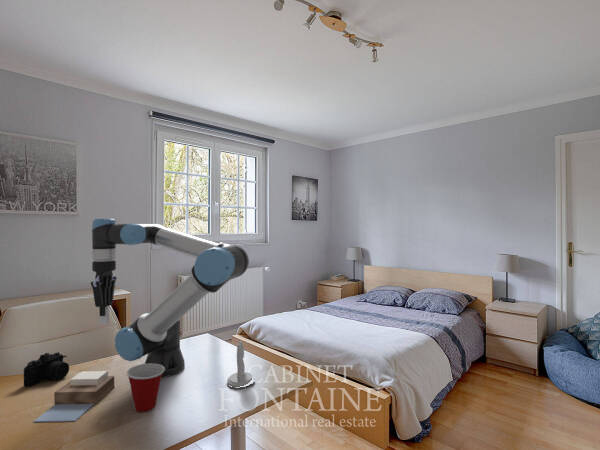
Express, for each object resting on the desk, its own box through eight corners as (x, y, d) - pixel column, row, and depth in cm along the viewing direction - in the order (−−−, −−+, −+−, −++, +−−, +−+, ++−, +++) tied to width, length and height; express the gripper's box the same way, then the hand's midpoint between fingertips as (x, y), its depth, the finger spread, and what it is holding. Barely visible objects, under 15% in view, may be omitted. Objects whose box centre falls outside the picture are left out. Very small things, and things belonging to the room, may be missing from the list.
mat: (93, 404, 106) (93, 403, 106) (75, 421, 97) (75, 420, 97) (55, 405, 105) (55, 404, 105) (33, 422, 96) (33, 421, 96)
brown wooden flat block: (114, 387, 117) (114, 376, 117) (96, 404, 106) (95, 391, 106) (76, 388, 117) (76, 376, 117) (54, 404, 106) (54, 392, 106)
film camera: (41, 390, 115) (41, 364, 115) (19, 387, 117) (19, 362, 117) (78, 371, 130) (78, 348, 130) (58, 369, 132) (58, 347, 132)
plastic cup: (161, 414, 100) (161, 374, 100) (122, 419, 97) (122, 378, 97) (167, 396, 110) (167, 360, 110) (132, 400, 108) (132, 363, 108)
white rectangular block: (107, 376, 116) (107, 371, 116) (97, 384, 110) (97, 378, 110) (81, 377, 116) (81, 371, 116) (70, 385, 110) (70, 379, 110)
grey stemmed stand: (256, 375, 125) (256, 336, 125) (251, 388, 115) (251, 345, 115) (230, 375, 126) (230, 336, 126) (223, 388, 116) (223, 345, 116)
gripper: (103, 258, 129) (104, 319, 129) (82, 262, 116) (83, 329, 116) (123, 258, 130) (123, 318, 129) (104, 262, 116) (104, 329, 116)
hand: (104, 323), depth 123 cm, fingers closed
